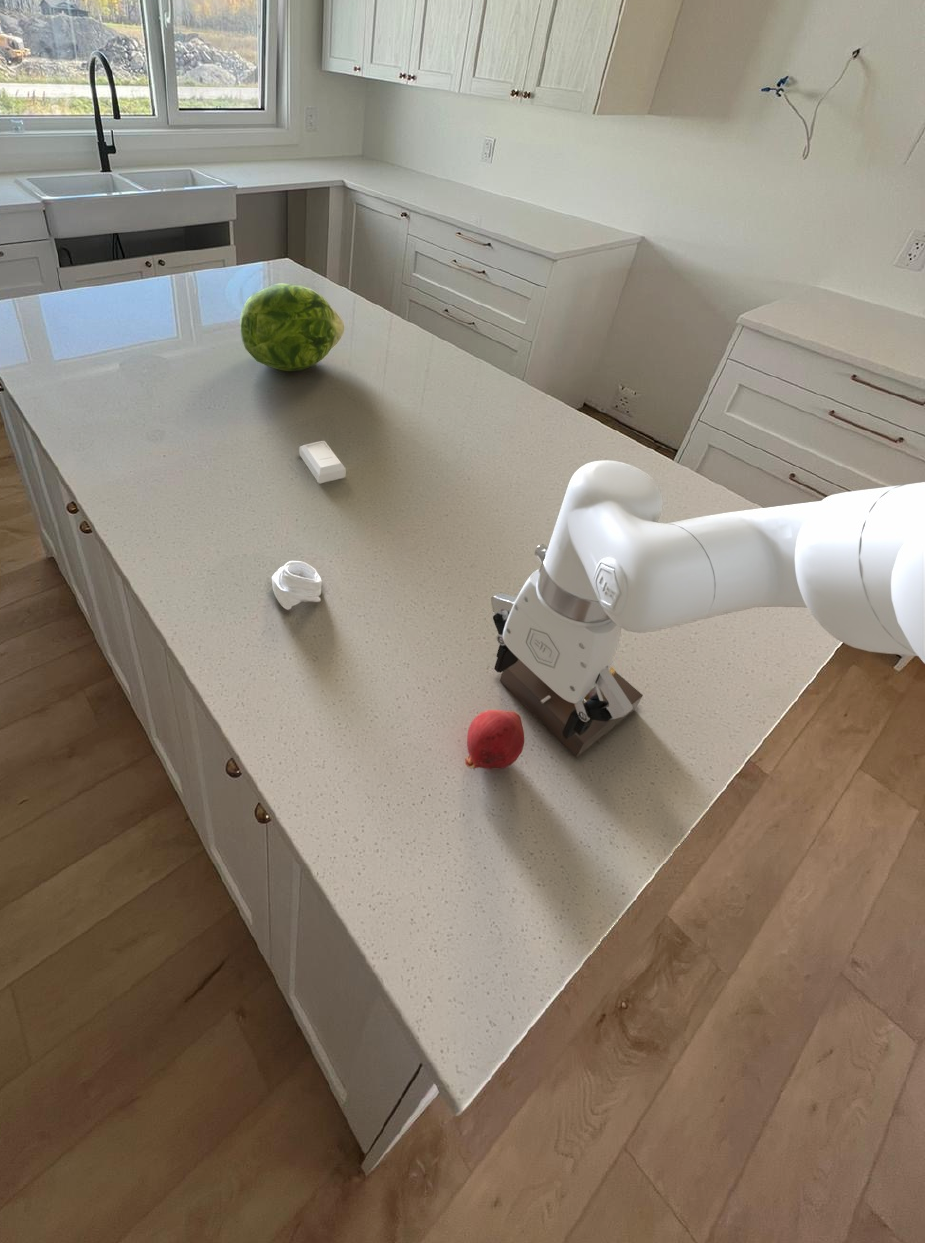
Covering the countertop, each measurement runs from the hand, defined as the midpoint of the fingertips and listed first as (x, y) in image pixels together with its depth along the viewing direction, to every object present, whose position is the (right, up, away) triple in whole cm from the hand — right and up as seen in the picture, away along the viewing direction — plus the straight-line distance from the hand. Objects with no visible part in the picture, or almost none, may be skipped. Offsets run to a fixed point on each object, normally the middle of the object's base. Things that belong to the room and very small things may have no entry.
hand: (537, 696), depth 69 cm
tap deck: (+6, -3, +8) cm, 11 cm away
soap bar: (-26, +26, +43) cm, 57 cm away
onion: (-2, -2, +1) cm, 3 cm away
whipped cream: (-28, +8, +19) cm, 35 cm away
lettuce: (-34, +51, +74) cm, 96 cm away
